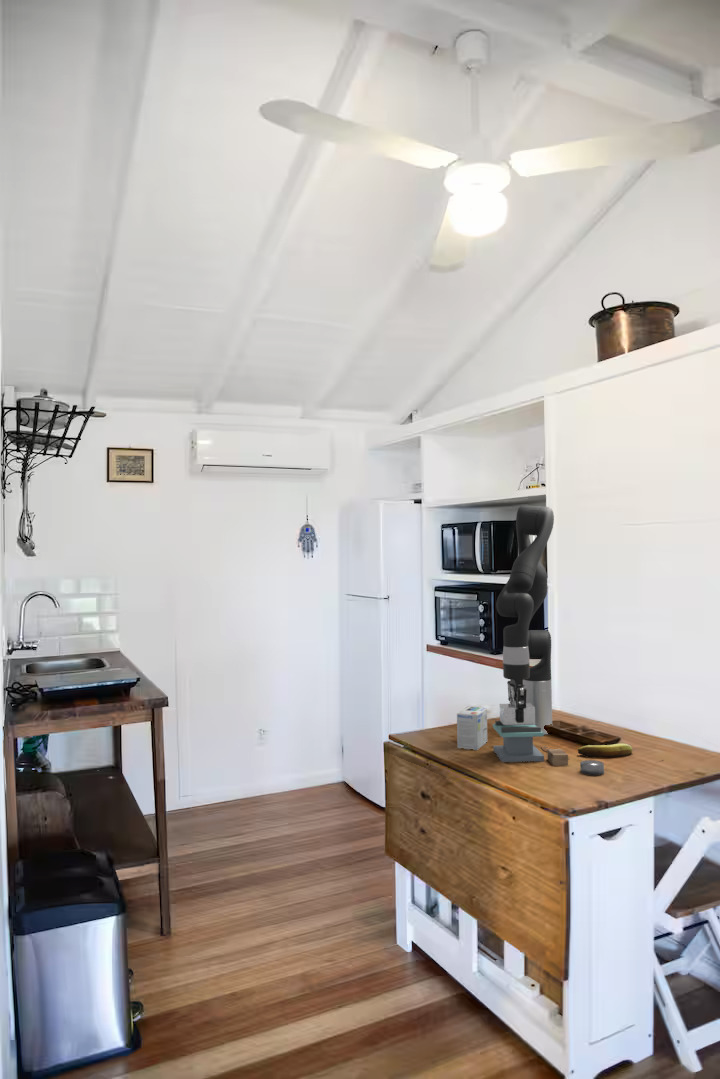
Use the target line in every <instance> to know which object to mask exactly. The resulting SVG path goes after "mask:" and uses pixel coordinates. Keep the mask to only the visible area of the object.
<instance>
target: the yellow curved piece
mask: <svg viewBox="0 0 720 1079" xmlns="http://www.w3.org/2000/svg"><path fill="white" fill-rule="evenodd" d="M546 746H547V745H545V746H542V747H541V749H542V750H543V751H544V752H546V753H547V749H546V748H548V747H546ZM549 749H550V748H549ZM633 750H634V749H633V747H632V746H631V745H630V744H627V743H614V744H607V745H605V744H602V745H599V744H598V745H597V744H595V745H592V744H591V745H590V744H588V745H583V746H581V747H579V748H578V749H577V752H578V754H579V755H582V756H584V757H585V756H587V757H586V758H592V757H607V758H618V756H619V757H624V755H625V756H629V755H630V754H631V753H632V752H633ZM628 754H629V755H628ZM570 760H571V758H568V761H570Z"/></svg>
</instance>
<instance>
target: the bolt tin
mask: <svg viewBox="0 0 720 1079" xmlns="http://www.w3.org/2000/svg"><path fill="white" fill-rule="evenodd" d="M580 773H581V774H583V775H587V776H601V775H602V774H603V775H604V774H605V763H604V762H602V761H599V760H594V759H593V760H592V759H591V760H589V759H587V760H586V759H585V760H582V761H580Z"/></svg>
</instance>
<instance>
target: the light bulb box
mask: <svg viewBox="0 0 720 1079" xmlns="http://www.w3.org/2000/svg"><path fill="white" fill-rule="evenodd" d="M456 728H457V729H456V731H457V732H456V733H457V734H456V736H457V739H456V740H457V743H456V744H457V749H461V748H464V749H463V750H470V749H473V750H472V751H479V749H480V747H481V748H482V747H483V746H484V745H486V744H487V743H488V709H487V707H478V706H477V707H476V706H467V707H465V708H463V709H462V710H461V711H459V712H457V713H456ZM486 742H487V743H486Z"/></svg>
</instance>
